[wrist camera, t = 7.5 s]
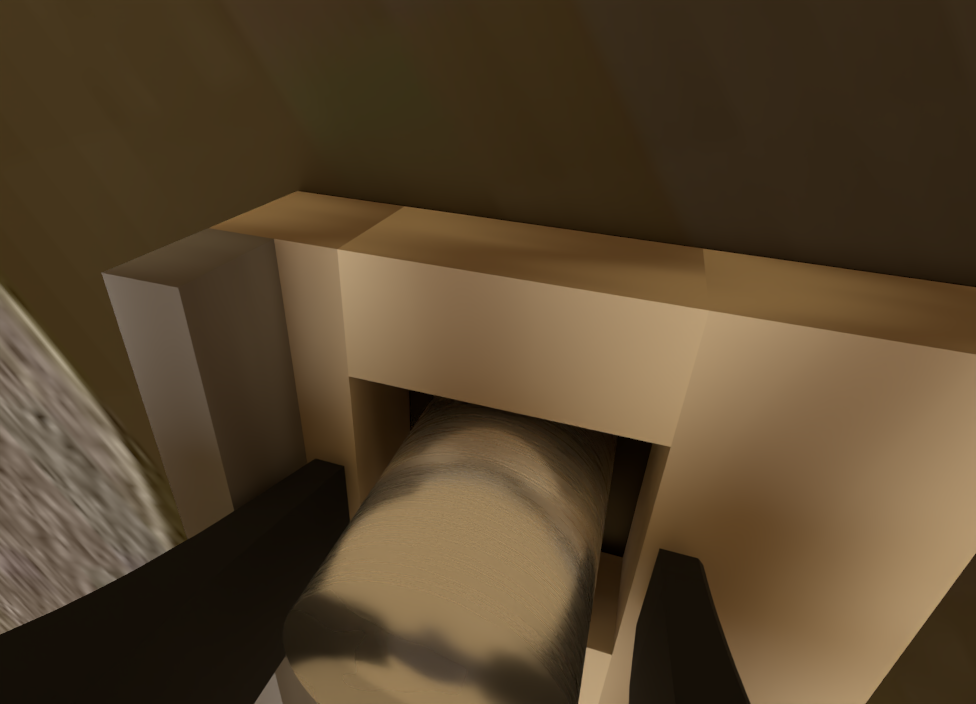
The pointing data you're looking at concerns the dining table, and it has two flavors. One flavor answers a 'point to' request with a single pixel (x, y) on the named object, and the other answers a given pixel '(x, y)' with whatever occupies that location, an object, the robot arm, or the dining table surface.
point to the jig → (592, 407)
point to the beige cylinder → (462, 568)
